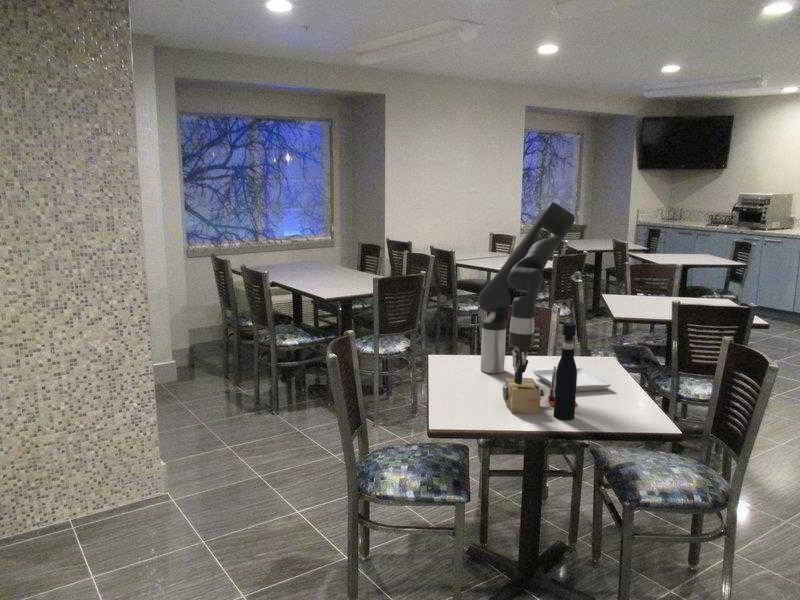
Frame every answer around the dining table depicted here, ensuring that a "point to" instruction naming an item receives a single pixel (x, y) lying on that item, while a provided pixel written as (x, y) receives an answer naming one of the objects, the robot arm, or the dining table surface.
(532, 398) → the block
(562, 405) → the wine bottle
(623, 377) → the dining table surface
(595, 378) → the salad plate
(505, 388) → the pin
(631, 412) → the dining table surface
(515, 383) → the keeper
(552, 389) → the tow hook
